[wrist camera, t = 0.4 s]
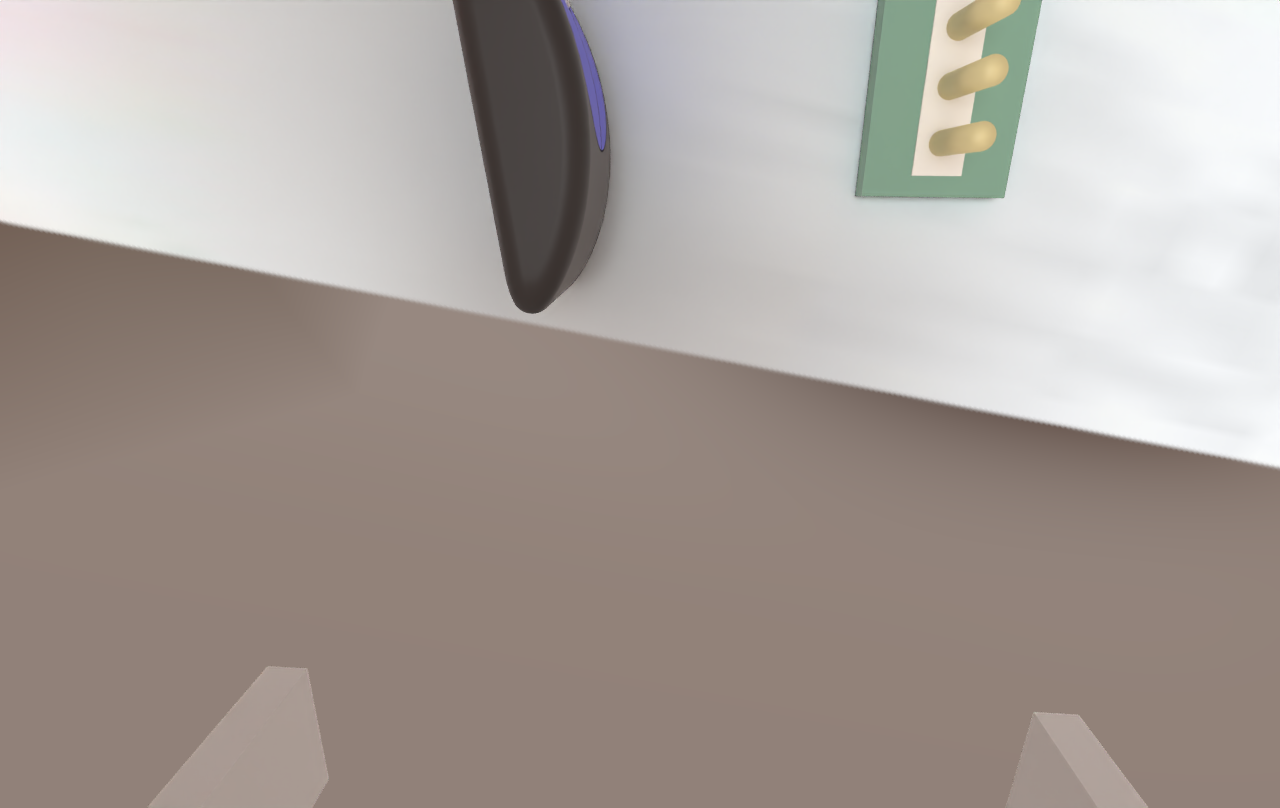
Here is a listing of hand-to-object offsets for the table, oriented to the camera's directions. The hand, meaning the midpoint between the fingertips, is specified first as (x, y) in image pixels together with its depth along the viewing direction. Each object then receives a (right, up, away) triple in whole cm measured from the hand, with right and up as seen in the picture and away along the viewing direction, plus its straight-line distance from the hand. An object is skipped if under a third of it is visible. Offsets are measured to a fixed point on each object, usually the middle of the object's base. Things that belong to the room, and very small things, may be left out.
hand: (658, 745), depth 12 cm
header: (+15, +22, +19) cm, 33 cm away
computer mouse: (-5, +21, +21) cm, 30 cm away
